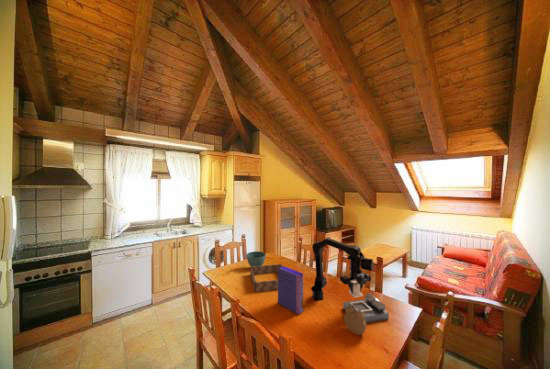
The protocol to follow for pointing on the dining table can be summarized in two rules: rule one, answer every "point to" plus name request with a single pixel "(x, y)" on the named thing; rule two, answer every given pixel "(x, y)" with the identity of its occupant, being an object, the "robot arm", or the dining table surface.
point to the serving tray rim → (264, 284)
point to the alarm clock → (355, 320)
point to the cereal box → (290, 289)
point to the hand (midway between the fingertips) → (355, 292)
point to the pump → (356, 290)
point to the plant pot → (256, 258)
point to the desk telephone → (369, 308)
